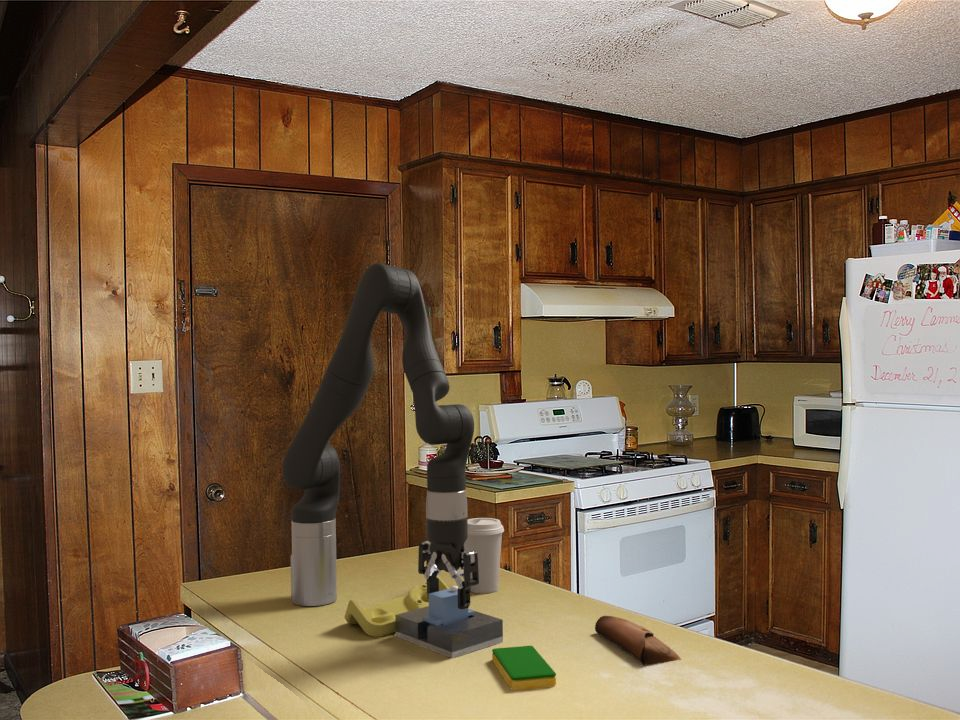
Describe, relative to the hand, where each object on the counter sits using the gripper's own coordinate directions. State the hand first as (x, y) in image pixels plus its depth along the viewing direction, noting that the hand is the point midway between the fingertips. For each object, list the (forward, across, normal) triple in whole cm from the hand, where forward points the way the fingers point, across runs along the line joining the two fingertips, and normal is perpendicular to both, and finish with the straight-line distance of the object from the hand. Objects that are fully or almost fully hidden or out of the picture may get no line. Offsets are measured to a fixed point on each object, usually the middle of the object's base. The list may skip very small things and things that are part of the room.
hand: (448, 603), depth 160 cm
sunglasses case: (+7, -26, -21) cm, 35 cm away
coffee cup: (+7, +20, -27) cm, 34 cm away
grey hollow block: (+6, 0, 0) cm, 6 cm away
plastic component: (+7, +14, 0) cm, 16 cm away
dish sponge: (+7, -21, +2) cm, 22 cm away
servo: (+6, 0, 0) cm, 6 cm away
